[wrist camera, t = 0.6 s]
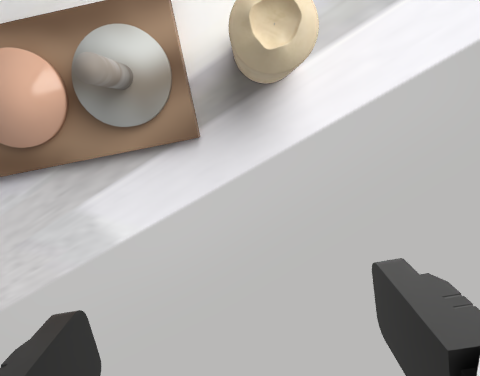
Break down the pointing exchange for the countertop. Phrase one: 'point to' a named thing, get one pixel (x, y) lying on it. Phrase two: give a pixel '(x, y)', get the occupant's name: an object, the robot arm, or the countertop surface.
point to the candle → (272, 36)
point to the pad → (30, 99)
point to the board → (79, 120)
